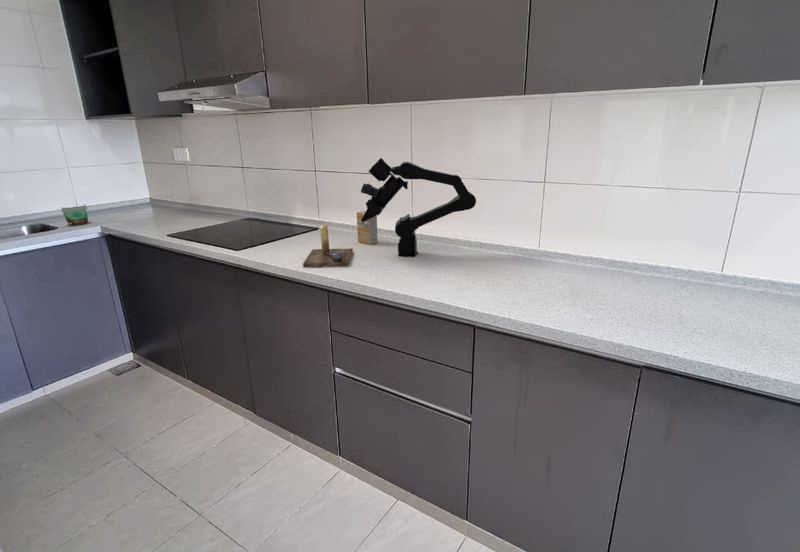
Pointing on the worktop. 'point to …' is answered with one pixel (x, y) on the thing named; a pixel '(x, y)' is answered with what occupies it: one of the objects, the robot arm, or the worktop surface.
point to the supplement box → (367, 229)
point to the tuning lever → (325, 244)
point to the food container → (76, 215)
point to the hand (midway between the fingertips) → (361, 221)
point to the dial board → (327, 258)
